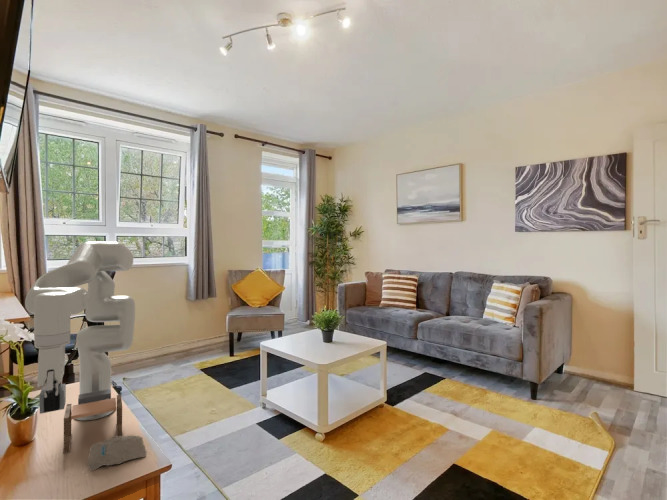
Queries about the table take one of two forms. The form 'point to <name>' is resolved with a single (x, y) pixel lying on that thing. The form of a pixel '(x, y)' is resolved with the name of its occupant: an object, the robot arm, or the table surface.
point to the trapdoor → (93, 404)
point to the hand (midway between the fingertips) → (53, 405)
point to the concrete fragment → (116, 451)
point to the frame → (68, 424)
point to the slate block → (60, 391)
